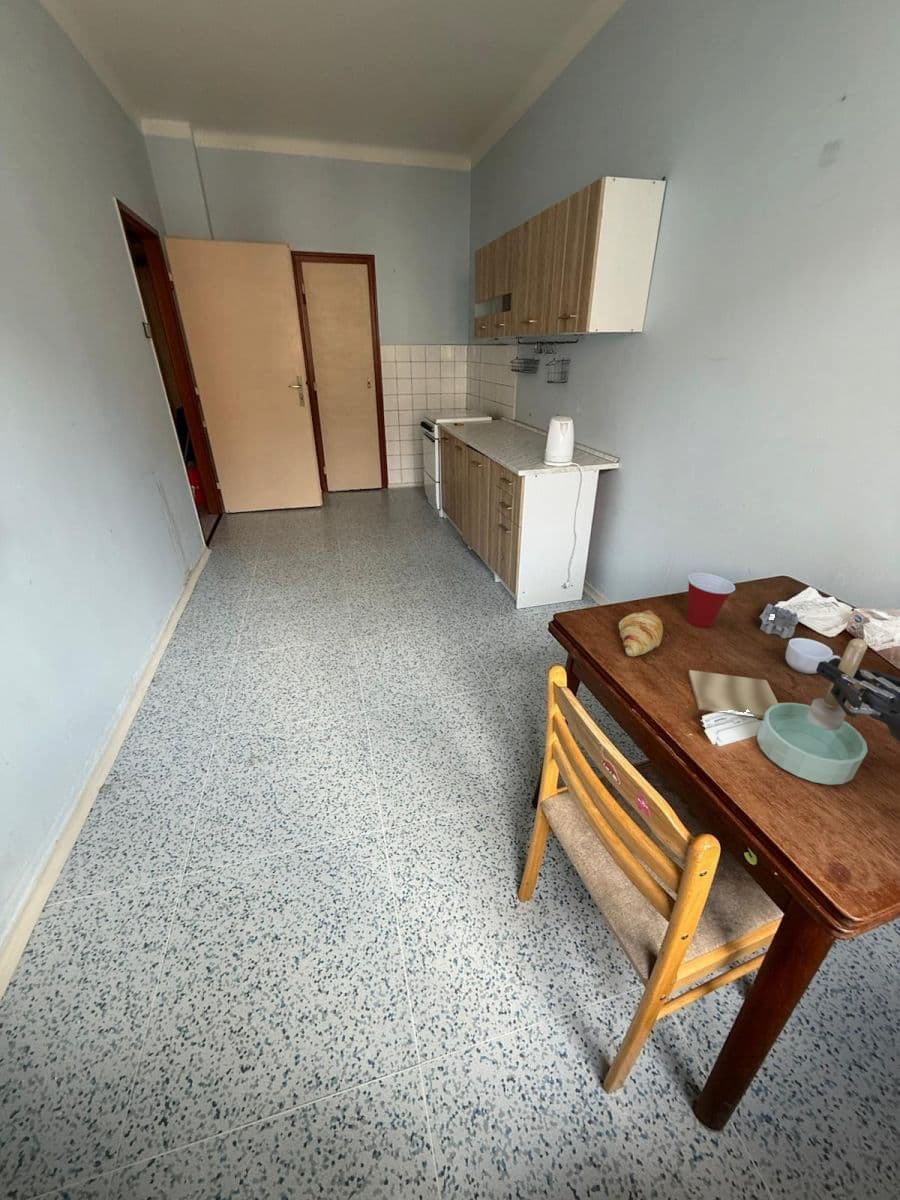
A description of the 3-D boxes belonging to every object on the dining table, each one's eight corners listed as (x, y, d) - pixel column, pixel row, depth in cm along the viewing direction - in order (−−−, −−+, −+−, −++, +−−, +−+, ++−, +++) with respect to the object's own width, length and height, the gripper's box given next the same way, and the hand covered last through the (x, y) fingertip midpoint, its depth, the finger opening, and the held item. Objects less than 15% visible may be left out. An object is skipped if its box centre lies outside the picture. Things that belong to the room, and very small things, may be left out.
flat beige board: (765, 683, 100) (766, 680, 99) (784, 722, 89) (786, 718, 89) (688, 673, 103) (689, 669, 103) (698, 709, 93) (699, 705, 93)
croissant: (639, 676, 108) (663, 655, 103) (603, 649, 110) (624, 627, 105) (656, 631, 124) (677, 611, 119) (624, 608, 126) (643, 588, 120)
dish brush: (833, 713, 80) (870, 633, 73) (845, 732, 76) (886, 650, 69) (802, 709, 81) (836, 630, 74) (812, 728, 77) (849, 646, 70)
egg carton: (791, 641, 114) (796, 626, 112) (755, 631, 118) (760, 617, 116) (797, 623, 121) (802, 609, 119) (763, 614, 125) (768, 600, 123)
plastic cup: (728, 636, 116) (741, 592, 110) (680, 630, 119) (691, 587, 113) (719, 614, 125) (731, 573, 119) (675, 609, 128) (684, 569, 122)
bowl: (832, 732, 87) (844, 709, 84) (871, 795, 75) (885, 770, 72) (746, 719, 90) (755, 697, 88) (770, 777, 78) (780, 753, 76)
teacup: (784, 673, 103) (792, 652, 100) (778, 654, 109) (786, 634, 106) (839, 684, 99) (849, 663, 96) (831, 664, 105) (840, 644, 102)
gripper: (1001, 706, 62) (868, 638, 77) (922, 728, 59) (799, 652, 74) (973, 748, 65) (850, 675, 80) (896, 770, 62) (784, 690, 77)
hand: (826, 664), depth 77 cm, fingers closed on dish brush
